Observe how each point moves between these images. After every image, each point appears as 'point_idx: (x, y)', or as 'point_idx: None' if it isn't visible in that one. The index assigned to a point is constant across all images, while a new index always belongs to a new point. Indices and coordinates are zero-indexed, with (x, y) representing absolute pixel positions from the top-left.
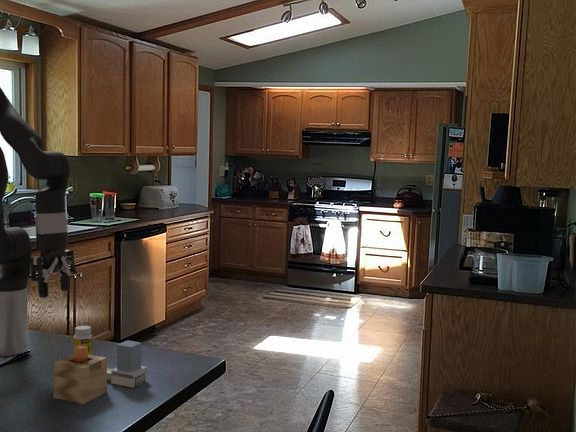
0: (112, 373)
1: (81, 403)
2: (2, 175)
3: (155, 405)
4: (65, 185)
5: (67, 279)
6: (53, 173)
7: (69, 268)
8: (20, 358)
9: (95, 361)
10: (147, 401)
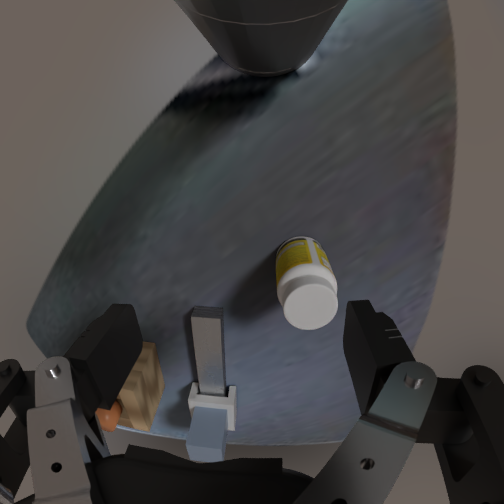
0: (189, 397)
1: None
2: None
3: (170, 435)
4: None
5: (359, 400)
6: None
7: (454, 434)
8: (228, 99)
9: (123, 424)
10: (174, 428)
